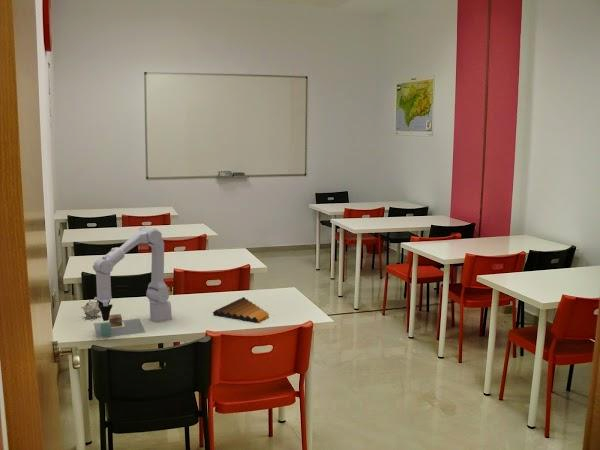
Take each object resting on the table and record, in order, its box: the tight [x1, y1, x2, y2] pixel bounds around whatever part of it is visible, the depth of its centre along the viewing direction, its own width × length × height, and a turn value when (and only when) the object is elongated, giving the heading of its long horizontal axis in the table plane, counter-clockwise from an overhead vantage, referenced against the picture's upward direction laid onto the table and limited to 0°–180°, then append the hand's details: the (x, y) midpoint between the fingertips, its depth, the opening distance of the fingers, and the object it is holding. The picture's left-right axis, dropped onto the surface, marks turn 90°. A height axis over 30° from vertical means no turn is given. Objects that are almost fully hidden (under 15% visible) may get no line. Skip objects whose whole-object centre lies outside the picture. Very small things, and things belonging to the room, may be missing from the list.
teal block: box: [100, 323, 111, 336], centre depth 257 cm, size 4×4×4 cm
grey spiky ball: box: [81, 299, 101, 320], centre depth 281 cm, size 9×8×10 cm
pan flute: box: [212, 296, 270, 324], centre depth 292 cm, size 25×3×25 cm
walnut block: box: [108, 313, 123, 327], centre depth 268 cm, size 5×5×4 cm
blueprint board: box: [93, 318, 146, 339], centre depth 265 cm, size 20×20×1 cm
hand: (105, 318), depth 256 cm, fingers open, 7 cm apart
